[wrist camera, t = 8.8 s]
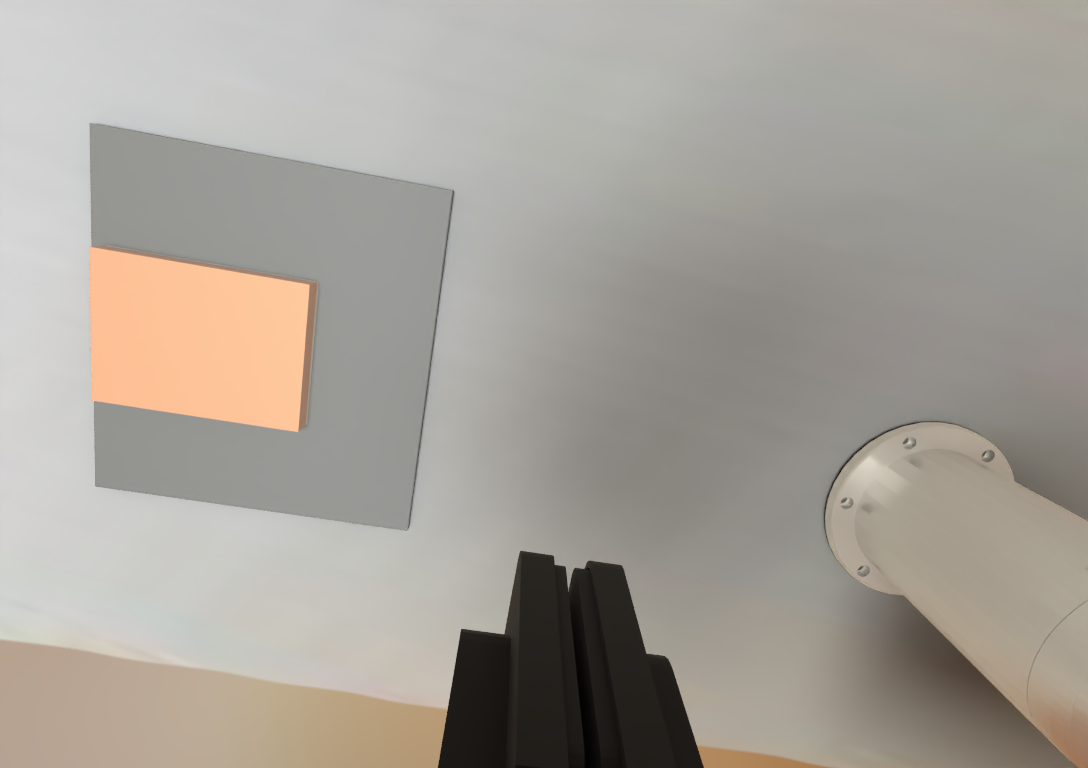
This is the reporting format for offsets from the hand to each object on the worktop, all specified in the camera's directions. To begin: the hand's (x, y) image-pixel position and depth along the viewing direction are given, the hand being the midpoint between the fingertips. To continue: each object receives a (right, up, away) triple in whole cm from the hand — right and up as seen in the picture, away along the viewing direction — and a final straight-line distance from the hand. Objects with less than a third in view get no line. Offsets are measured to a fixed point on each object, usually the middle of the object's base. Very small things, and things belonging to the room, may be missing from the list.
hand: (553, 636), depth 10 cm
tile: (-14, +6, +26) cm, 31 cm away
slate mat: (-17, +7, +28) cm, 33 cm away
